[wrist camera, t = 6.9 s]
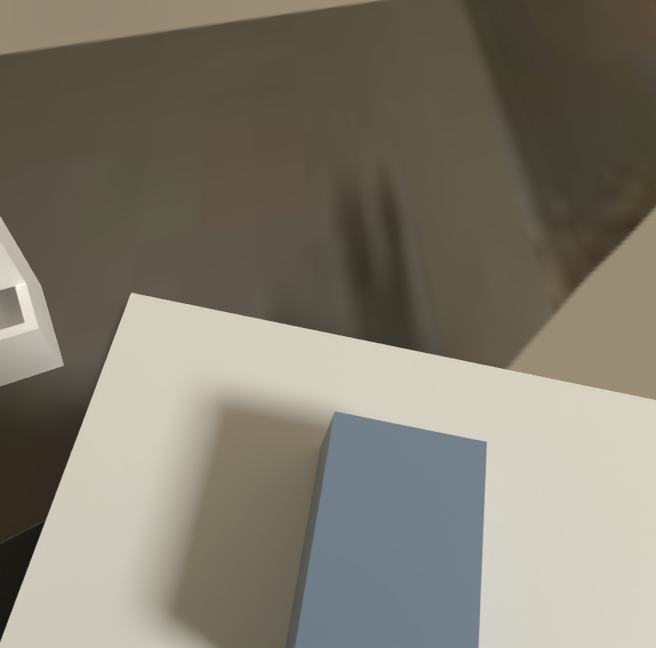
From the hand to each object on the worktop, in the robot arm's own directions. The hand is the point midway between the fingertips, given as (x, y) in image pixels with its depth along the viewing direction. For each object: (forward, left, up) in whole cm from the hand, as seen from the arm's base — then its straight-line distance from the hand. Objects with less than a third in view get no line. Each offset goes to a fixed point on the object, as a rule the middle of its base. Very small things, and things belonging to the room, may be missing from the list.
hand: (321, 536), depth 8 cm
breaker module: (-1, -1, -7) cm, 7 cm away
